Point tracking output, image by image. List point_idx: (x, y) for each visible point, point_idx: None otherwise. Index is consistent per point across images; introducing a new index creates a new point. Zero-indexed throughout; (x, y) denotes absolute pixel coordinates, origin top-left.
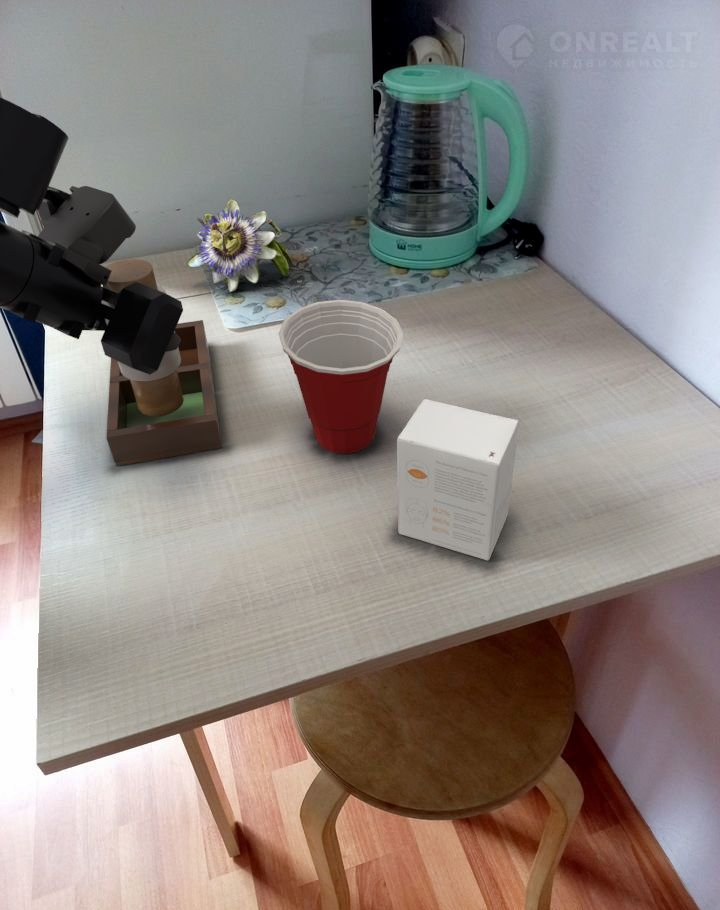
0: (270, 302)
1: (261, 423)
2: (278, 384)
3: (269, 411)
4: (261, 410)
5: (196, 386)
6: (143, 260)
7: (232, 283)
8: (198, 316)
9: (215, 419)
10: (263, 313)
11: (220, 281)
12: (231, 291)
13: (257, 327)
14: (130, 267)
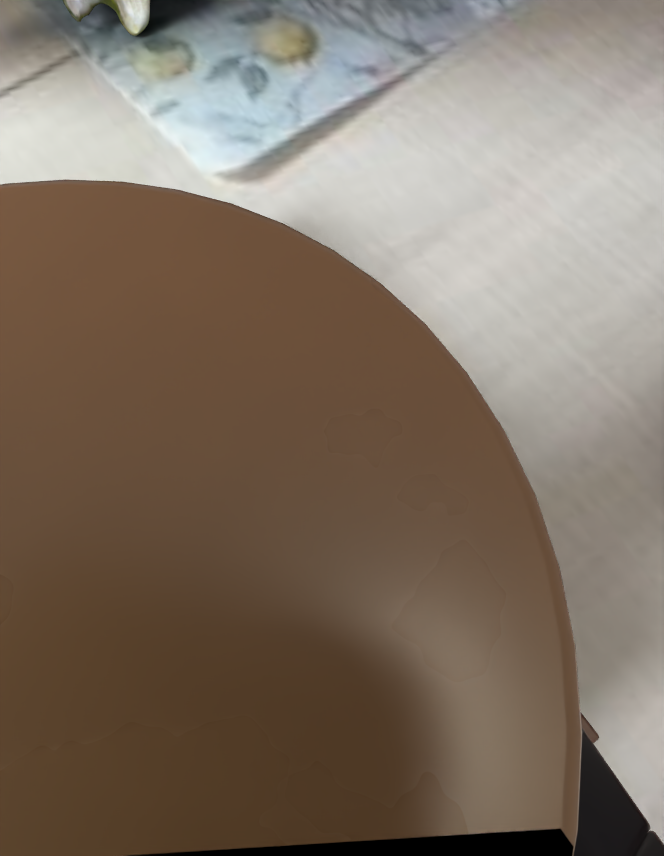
0: (271, 44)
1: (591, 554)
2: (519, 360)
3: (576, 489)
4: (549, 493)
5: None
6: (122, 188)
7: (132, 5)
8: (96, 151)
9: (597, 738)
10: (279, 89)
11: (92, 6)
12: (138, 33)
13: (298, 147)
14: (5, 493)
